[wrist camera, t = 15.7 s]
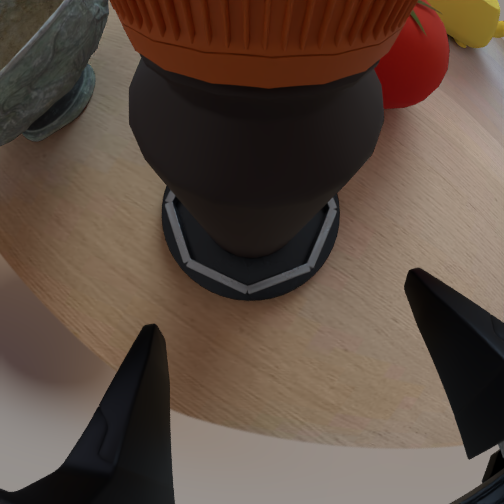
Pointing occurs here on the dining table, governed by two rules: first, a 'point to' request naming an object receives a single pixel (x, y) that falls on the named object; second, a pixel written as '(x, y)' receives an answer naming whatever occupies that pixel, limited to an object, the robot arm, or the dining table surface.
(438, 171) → the dining table surface
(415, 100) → the tomato
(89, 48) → the bowl
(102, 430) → the robot arm
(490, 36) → the teapot
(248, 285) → the stand
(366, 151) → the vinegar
